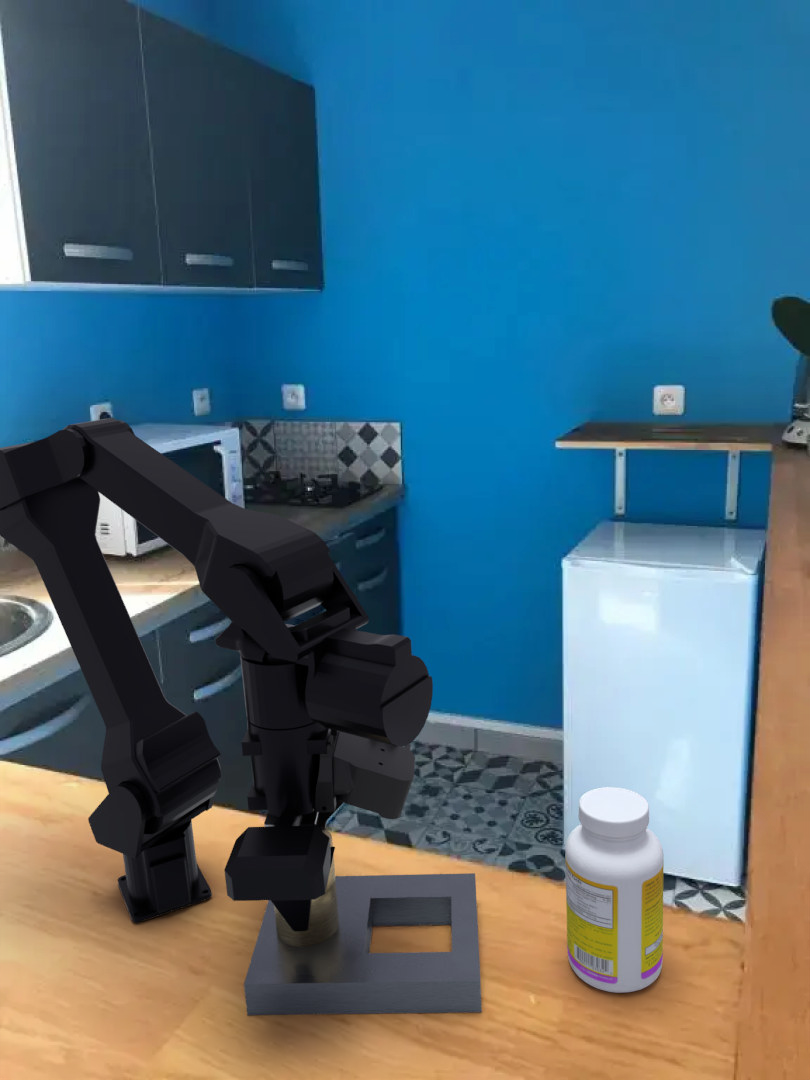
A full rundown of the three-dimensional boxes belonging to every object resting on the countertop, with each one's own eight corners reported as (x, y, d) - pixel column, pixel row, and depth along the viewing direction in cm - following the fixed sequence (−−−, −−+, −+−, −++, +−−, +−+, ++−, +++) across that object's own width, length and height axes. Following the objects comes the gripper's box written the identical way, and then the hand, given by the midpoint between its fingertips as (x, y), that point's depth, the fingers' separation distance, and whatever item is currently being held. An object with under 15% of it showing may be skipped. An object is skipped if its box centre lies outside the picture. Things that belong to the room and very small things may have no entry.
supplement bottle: (647, 930, 70) (649, 776, 67) (674, 994, 64) (678, 826, 60) (558, 936, 70) (556, 782, 67) (577, 1001, 64) (576, 833, 60)
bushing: (267, 918, 70) (259, 835, 68) (324, 898, 72) (317, 816, 70) (289, 954, 66) (281, 866, 64) (349, 932, 68) (342, 846, 66)
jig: (247, 1015, 64) (243, 984, 63) (277, 904, 75) (275, 877, 75) (481, 1012, 63) (480, 980, 62) (476, 900, 75) (475, 873, 74)
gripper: (397, 776, 55) (410, 999, 59) (409, 657, 73) (419, 834, 77) (211, 780, 56) (236, 1001, 60) (269, 662, 74) (285, 837, 78)
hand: (306, 907), depth 68 cm, fingers closed on bushing, 5 cm apart
